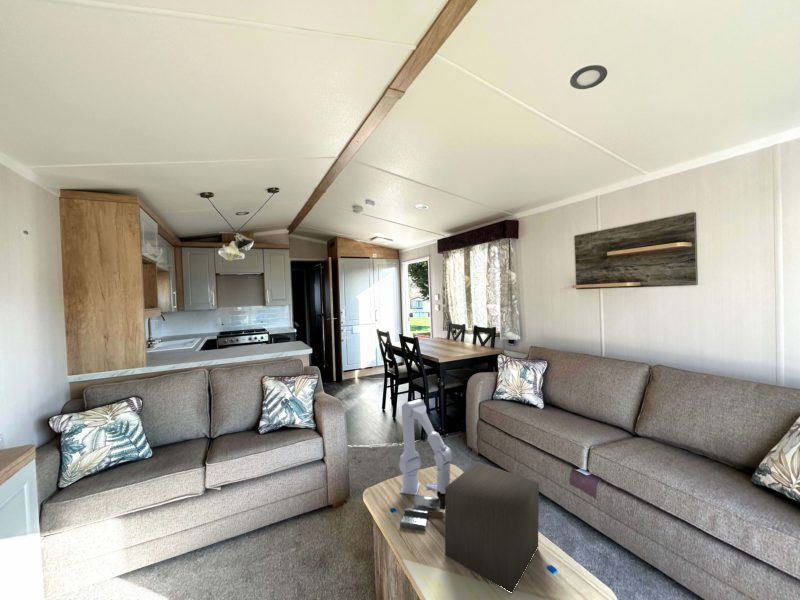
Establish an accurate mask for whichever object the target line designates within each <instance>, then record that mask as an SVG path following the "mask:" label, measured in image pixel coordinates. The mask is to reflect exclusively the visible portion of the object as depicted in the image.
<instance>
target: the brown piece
mask: <svg viewBox="0 0 800 600" xmlns="http://www.w3.org/2000/svg"><path fill="white" fill-rule="evenodd" d="M440 507H441V503H440ZM427 511H428V517H434V518H440V519H443V518H444V511H439V512H438V511H431V510H427Z"/></svg>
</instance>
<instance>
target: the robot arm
mask: <svg viewBox="0 0 800 600" xmlns="http://www.w3.org/2000/svg"><path fill="white" fill-rule="evenodd" d="M401 419H402V421H401V422H402V434H403V435H402V438H403V452H402V454H401V455H400V456H399V463H398V464H399V465H398V467H399V470H400V472H401V473H402V487H401V489H400V494H406V495H411V496H413V495H414V496H415V495H418V493H419V491H420V487H421V483H419V470H420V468H421V466H422V461H421V460H422V459H421V457H420V453H419V452H418V451H416V441H415V440H416V439H415V423H414V420H418V421H419V423H420V425H421V426H422V428H423V429H424V431H425V432H426V434H427V439H426V440H427V442H428V444H429V445H430V447H431V449H432V451H433V453H434V455H433V458H434V461H435V466H436V483H427V484H426V491H436V496H437V498H439V500H440V503H441V506H440V508H441V509H442V510H445V487H447V486H448V485H449V484H450V483H451V461H452V460H453V459H454V453H453V451H452V449H451V448H450V447H448V445H447V444H445V443H444V440H443V439H442V437H441V435H440V433H439V432H437V431H435V429H434V426H433V424H432V423H431V422H432V421H431V420H430V419H429V416H428V414H427V406H426V404H425V402H424V400H423V399H421V398H417V399H414V400H411V401H406V402H404V403H403V404H402V405H401Z"/></svg>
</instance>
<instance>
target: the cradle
mask: <svg viewBox="0 0 800 600" xmlns="http://www.w3.org/2000/svg"><path fill="white" fill-rule="evenodd" d="M403 511H404V512H403V513H404V514H403V516H402V519H401V520H400V524H399V525H400V528H404V529H410V530H418V531H423V532H425V531H426V526H427V522H428V517H429V516H428V511H426V510H419V509H414V508H407V507H405V508H404V510H403Z"/></svg>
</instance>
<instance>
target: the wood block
mask: <svg viewBox="0 0 800 600" xmlns="http://www.w3.org/2000/svg"><path fill="white" fill-rule="evenodd" d="M539 492H540V483H539V482H538V481H534V480H532V479H529V478H526V477H524V476H521V475H517V474H514V473H512V472H509V471H506V470H504V469H501V468H497V467H495V466H492V465H489V464H486V463H483V462H482V461H481V462H480V461H476V462H475V463H474V464H472V465H471V466H470V467H469V468H467V469H466V470H465V471H464V472H462V473H461V474H460V475H459V476H457V477H456V478H455V479H454V480H452V481H451V482H450V484H449V485H448V486H447V487H445V509H444V520H445V521H444V555H445V556H446V557H448V558H449V559H451V560H453V561H454V562H456V563H458V564H459V565H461V566H463V567H464V568H467V569H468V570H470V571H471V572H473V573H474V574H476V575H478V576H480V577H482V578H483V577H484V578H483V579H485V578H486V579H485V580H487V579H488V580H490V581H492V582H493V583H492V582H491V583H492V584H494V583H495V584H497V585H499V586H502V587H503V588H505V589H506V590H508V591H510V592H513V590H514V588H515V586H516V584H517V583H518V581H519V579H520V578H521V576H522V574H523V572H524V571H525V569H526V567H527V565H528V563H529V562H530V560H531V558H532V556H533V554H534V553H535V551H536V549H537V547H538V548H539V517H540V516H539V510H540V509H539V507H540V506H539V503H540V502H539V498H540V497H539V495H540V494H539ZM535 554H536V553H535ZM531 561H532V560H531ZM530 563H531V562H530ZM527 568H528V567H527ZM526 570H527V569H526ZM525 572H526V571H525ZM523 575H524V574H523ZM522 577H523V576H522ZM521 579H522V578H521ZM488 580H487V581H488ZM490 581H489V582H490ZM519 582H520V581H519ZM495 584H494V585H495ZM518 584H519V583H518ZM497 585H496V586H497ZM499 586H498V587H499ZM514 591H515V590H514ZM513 593H514V592H513Z"/></svg>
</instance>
